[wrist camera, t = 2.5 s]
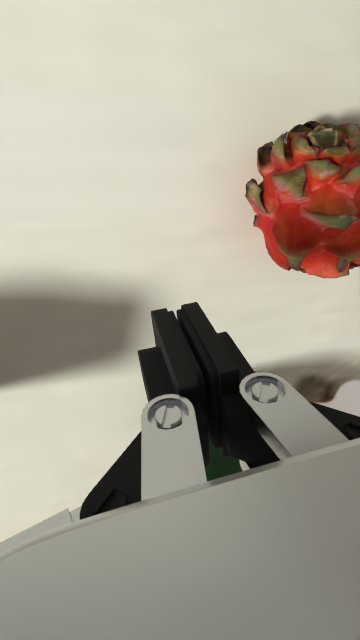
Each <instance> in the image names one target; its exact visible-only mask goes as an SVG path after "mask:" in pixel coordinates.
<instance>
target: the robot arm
mask: <svg viewBox="0 0 360 640" xmlns="http://www.w3.org/2000/svg"><path fill="white" fill-rule="evenodd" d="M151 317H152V324H153V330H154V337H155V343H156V347H153V348H148V349H143V350H139V351H138V355H139V361H140V366H141V371H142V376H143V381H144V386H145V390H146V394H147V399H148V404H146V406H145V408H144V409H143V412H142V431H141V432H140V433H139V434H138V435H137V437H136V438H135V439H134V440H133V441H132V443H131V444H130V445H129V446H128V447H127V449H126V450H125V451H124V452H123V453H122V455H121V456H120V457H119V458H118V460H117V461H116V462H115V463H114V464H113V466H112V467H111V468H110V469H109V470H108V472H107V473H106V474H105V475H104V476H103V478H102V479H101V480H100V481H99V482H98V484H97V485H96V486H95V487H94V488H93V490H92V491H91V492H90V493H89V494H88V496H87V497H86V499H85V501H84V502H83V504H82V506H81V507H79V508H77V509H75V510H73V511H71V512H69V509H68V508H67V509H66V510H64V511H62V512H60V513H58V514H56V515H54V516H52V517H50V518H48V519H46V520H44V521H42V522H40V523H38V524H36V525H34V526H32V527H30V528H28V529H26V530H24V531H22V532H20V533H18V534H16V535H14V536H12V537H11V538H9V539H7V540H5V541H3V542H1V543H0V640H360V417H358V416H355V415H352V414H348V413H345V412H342V411H339V410H335V409H332V408H329V407H326V406H322V405H319V404H316V403H313V402H309V401H307V400H306V399H305V398H304V397H303V396H302V395H301V394H300V393H299V392H298V391H297V390H296V389H294V388H293V387H292V386H291V385H290V384H289V383H288V382H287V381H286V380H285V379H283V378H282V377H280V376H278V375H276V374H273V373H267V372H257V373H255V372H254V371H253V369H252V368H251V366H250V365H249V363H248V362H247V360H246V359H245V357H244V356H243V355H242V353H241V352H240V350H239V349H238V347H237V346H236V344H235V343H234V341H233V340H232V339H231V337H230V336H229V334H228V333H227V332H222V333H216V331H215V330H214V328H213V326H212V325H211V323H210V322H209V320H208V319H207V317H206V315H205V314H204V312H203V311H202V309H201V308H200V306H199V304H198V303H197V302H194V303H189V304H184V305H182V306H181V309H179V310H177V319H176V317H175V314H174V312H173V311H169V312H168V311H167V309H166V308H164V309H159V310H154V311H151ZM209 439H210V442H211V444H212V446H213V448H214V449H215V448H219V449H220V451H221V454H222V456H223V457H227V456H232V457H235V458H237V459H239V461H240V466H241V468H242V470H243V471H242V472H238V473H235V474H231V475H228V476H225V477H221V478H218V479H214V480H211V481H208V482H207V479H206V473H205V468H206V466H207V464H208V463H209Z"/></svg>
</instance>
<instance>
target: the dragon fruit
mask: <svg viewBox="0 0 360 640" xmlns="http://www.w3.org/2000/svg"><path fill="white" fill-rule="evenodd" d="M287 133H288V135H287ZM286 135H287V144H286V143H284V138H285V137H286ZM257 155H258V156H257V166H258V170H259V173H260V174H261V175H262V176H263V179H264V180H263V182H261V183H260V184H259V185H258V184H257V182H256V180H254V179H251V180H250V181H249V182H247V184H246V195H245V196H246V198H247V200H248V201H249V203H250V204H251V206H252V207H253V210H254V211H255V212H256V213H258V216H257V214H256V215H255V219H254V222H253V224H254V226H256V227H258V228H260V229H261V230H262V232H263V234H264V238H265V244H266V248H267V250H268V253H269V255H270V256H271V258H272V259H273V260H274V262H275V263H276V264H277V265H278V266H280V267H282V268H283V269H286V270H288V271H289V270H290V269H291V268H292V269H294V270H296V271H301V272H304V273H307V274H309V275H315V276H318V277H321V278H338V277H341V276H346V275H349V269H353V268H354V267H359V266H360V129H359V126H358V125H357V124H342V125H339V126H336V125H333V124H319V123H317V122H316V121H309V122H307V123H305V124H304V125H301V124H299V125H297V126H295V127H293V128H292V129H291V130H290V131H289V132H286V133H285V134H283V135H281V136H280V137H279V138H278V139H277V141H276V142H275V143H274V144H273V142H270V143H266V144H265V145H264V146H262V147H260V148H259V149H258V153H257Z"/></svg>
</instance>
